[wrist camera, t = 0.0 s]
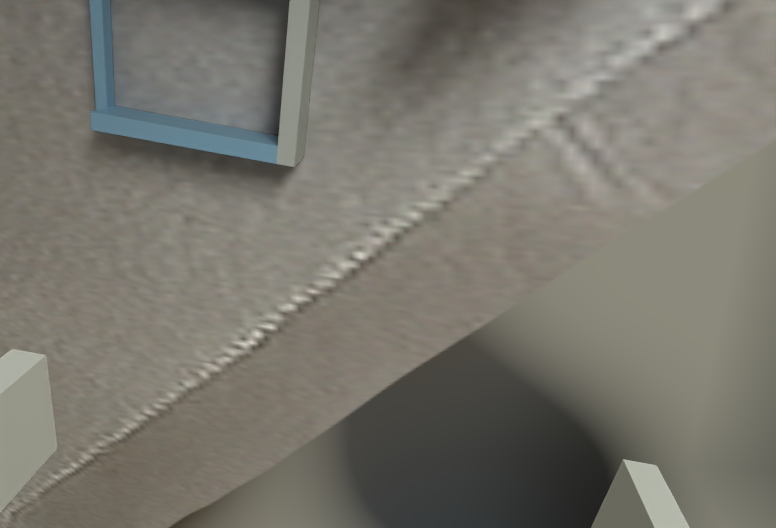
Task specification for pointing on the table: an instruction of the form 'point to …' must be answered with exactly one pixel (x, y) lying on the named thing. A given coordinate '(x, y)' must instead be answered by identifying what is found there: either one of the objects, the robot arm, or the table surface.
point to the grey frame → (208, 135)
